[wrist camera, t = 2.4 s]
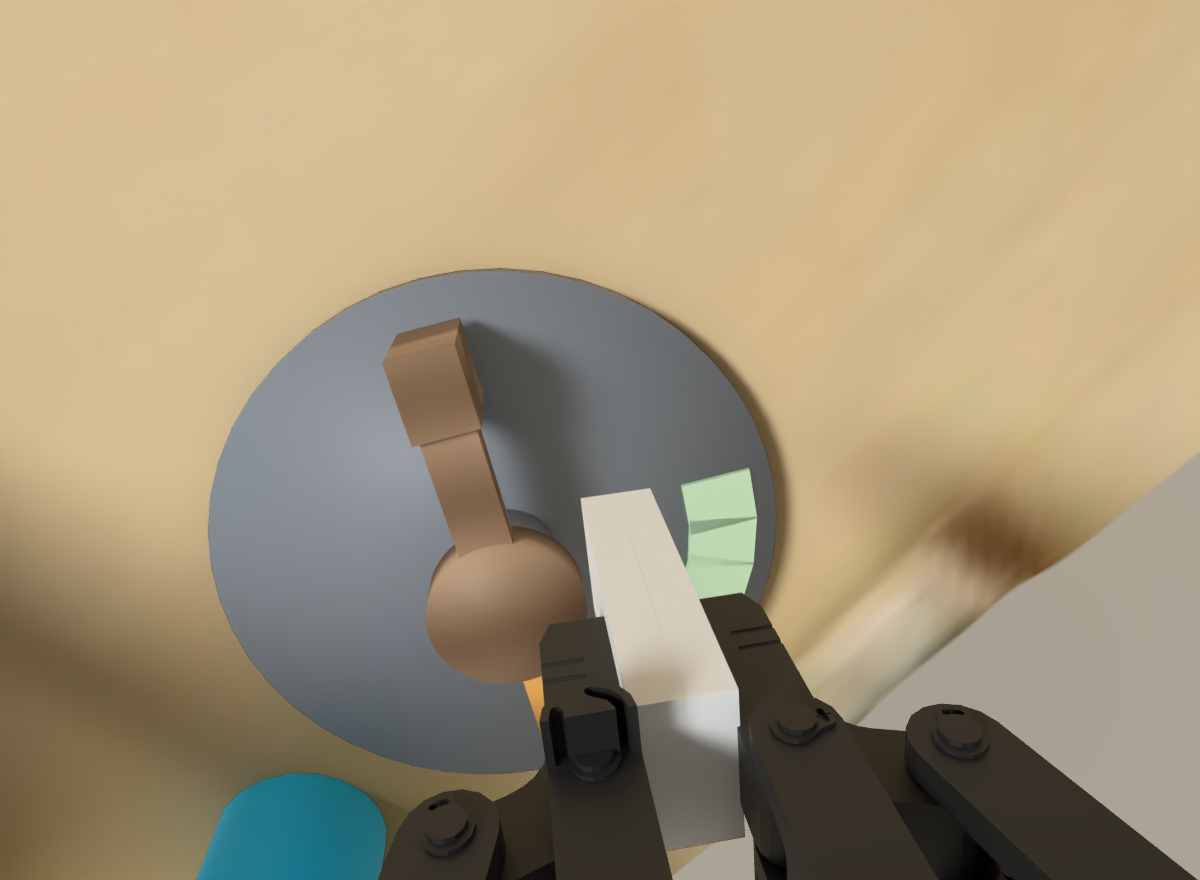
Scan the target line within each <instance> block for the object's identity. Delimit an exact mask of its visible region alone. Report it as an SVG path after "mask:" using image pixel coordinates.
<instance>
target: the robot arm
mask: <svg viewBox="0 0 1200 880" xmlns="http://www.w3.org/2000/svg"><path fill="white" fill-rule="evenodd" d="M581 506H582V514H583V522H584V530H585V538H586V547H587V555H588V563H589V571H590V579H591V587H592V596H593V604H594V610H595V615H596V617H595V618H589V619H582V620H576V621H570V622H563V623H557V624H551V625H549V626H548V628H547V630H546V632H545V634H544V636H543V638H542V640H541V642H540V644H539V647H540V659H541V671H542V682H543V695H544V707H543V708H542V711H541V716H540V721H539V723H540V729H541V735H542V742H543V748H544V754H545V761H544V763H543V766H542V767H541V769H540V770H539V772H538V773H537V774H536V776H535V777H534V778H533V779H532V780H530V781H529V782H528V783H527V784H526V785H525V786H523V787H522V788H520V789H518V790H516V791H515V792H513V793H511V794H509V795H507V796H505V797H503V798H501V799H498V800H496V801H494V802H492V801H491V800H489V799H488V798H487V797H485V796H484V795H482V794H481V793H479V792H473V791H468V790H463V789H462V790H455V791H448V792H443V793H440V794H438V795H436V796H434V797H431V798H429V799H427V800H425V801H423V802H422V803H421V804H420V805H419V806H417V807H416V808H415V809H414V810H413V811H411V812H410V813H409V814H408V816H407V817H406V819H405V820H404V822H403V824H402V825H401V827H400V828H399V830H398V832H397V834H396V837H395V839H394V842H393V844H392V846H391V849H390V851H389V854H388V856H387V858H386V861H385V863H384V866H383V868H382V870H381V873H380V875H379V878H378V880H673V879H672V875H671V871H670V867H669V863H668V858H667V854H666V851H671V850H677V849H682V848H688V847H693V846H699V845H704V844H710V843H715V842H720V841H726V840H731V839H737V838H742V837H745V829H744V814H745V817H746V820H747V822H748V825H749V828H750V831H751V833H752V836H753V841H754V866H755V880H1197V879H1196V878H1194V877H1193V876H1192V875H1191V874H1189V873H1188V872H1187V871H1186V870H1184V869H1183V868H1182V867H1181V866H1179V865H1178V864H1177V863H1176V862H1174V861H1173V860H1171V858H1169V857H1168V856H1167V855H1165V854H1164V853H1163V852H1162V851H1160V850H1159V849H1158V848H1157V847H1155V846H1154V845H1153V844H1151V843H1150V842H1149V841H1148V840H1146V839H1145V838H1144V837H1143V836H1141V835H1140V834H1139V833H1138V832H1136V831H1135V830H1134V829H1133V828H1131V827H1130V826H1129V825H1127V824H1126V823H1125V822H1124V821H1122V820H1121V819H1120V818H1119V817H1117V816H1116V815H1115V814H1114V813H1112V812H1111V811H1110V810H1109V809H1107V808H1106V807H1105V806H1104V805H1102V804H1101V803H1100V802H1098V801H1097V800H1096V799H1094V798H1093V797H1092V796H1091V795H1090V794H1088V793H1087V792H1086V791H1085V790H1083V789H1082V788H1081V787H1079V786H1078V785H1077V784H1076V783H1074V782H1073V781H1072V780H1070V779H1069V778H1068V777H1067V776H1066V775H1064V774H1063V773H1062V772H1061V771H1059V770H1058V769H1057V768H1055V767H1054V766H1053V765H1052V764H1050V763H1049V762H1048V761H1047V760H1045V759H1044V758H1043V757H1041V756H1040V755H1039V754H1038V753H1036V752H1035V751H1034V750H1033V749H1031V748H1030V747H1029V746H1028V745H1026V744H1025V743H1024V742H1023V741H1021V740H1020V739H1019V738H1018V737H1016V736H1015V735H1014V734H1012V733H1011V732H1010V731H1009V730H1007V729H1006V728H1005V727H1003V726H1002V725H1001V724H1000V723H999V722H997V721H995V720H994V719H992V718H990V717H989V716H987V715H985V714H984V713H982V712H980V711H977V710H974V709H971V708H968V707H964V706H961V705H951V704H937V705H932V706H927V707H923V708H922V709H920V710H919V711H917V712H916V713H914V714H913V715H911V717H910V719H909V722H908V724H907V726H906V731H898V730H885V729H872V728H866V727H860V726H856V725H853V724H850V723H847V722H844V720H843V719H842V717H841V716H840V715H839V714H838V713H837V712H836V711H835V710H834V709H833V707H831V706H830V705H828V704H826V703H824V702H822V701H820V700H819V699H817V698H813V696H812V694H811V693H810V691H809V689H808V687H807V686H806V684H805V682H804V680H803V679H802V677H801V675H800V673H799V672H798V670H797V668H796V666H795V665H794V663H793V661H792V659H791V657H790V656H789V654H788V652H787V650H786V649H785V647H784V645H783V643H781V641H780V638H779V636H778V635H777V633H776V631H775V629H774V628H772V624H771V622H770V621H769V619H768V617H767V615H766V613H765V612H764V610H763V608H762V606H760V605H759V604H757V603H756V602H754V601H753V600H752V599H750V598H749V597H747V596H746V595H744V594H743V593H742V592H741V593H735V594H728V595H722V596H716V597H709V598H703V599H699V598H698V596H697V594H696V591H695V589H694V587H693V585H692V582H691V580H690V578H689V575H688V573H687V571H686V569H685V566H684V564H683V562H682V560H681V557H680V555H679V553H678V550H677V548H676V546H675V544H674V541H673V539H672V537H671V535H670V532H669V530H668V528H667V525H666V523H665V521H664V519H663V516H662V514H661V512H660V510H659V507H658V505H657V503H656V500H655V498H654V496H653V494H652V491H651V489H650V488H648V489H641V490H634V491H627V492H621V493H614V494H607V495H600V496H593V497H586V498H581Z"/></svg>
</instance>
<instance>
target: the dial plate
mask: <svg viewBox="0 0 1200 880" xmlns="http://www.w3.org/2000/svg"><path fill="white" fill-rule="evenodd" d="M459 317H460V319H461V322H462V325H463V328H464V332H465V335H466V338H467V341H468V344H469V348H470V351H471V354H472V357H473V361H474V364H475V367H476V370H477V374H478V377H479V380H480V383H481V386H482V390H483V404H482V426H481V431H482V434H483V438H484V441H485V444H486V447H487V450H488V453H489V457H490V460H491V463H492V466H493V469H494V472H495V475H496V479H497V482H498V485H499V488H500V491H501V494H502V498H503V501H504V504H505V507H506V510H507V513H508V516H509V520H510V523H511V526H518V527H525V528H529V529H533V530H537V531H539V532H541V533H544V534H546V535H548V536H550V537H551V538H553V539H555V540H556V541H557V542H559V543H560V544H561V545H562V546H563V547H565V548H566V549H567V550H568V552H569V553H570V554H571V556H572V557H573V558H574V560H575V562H576V564H577V565H578V568H579V570H580V573H581V577H582V582H583V587H584V592H585V597H586V602H587V613H588V614H587V619H589V618H595V617H596V615H595V610H594V604H593V596H592V587H591V579H590V571H589V563H588V555H587V547H586V538H585V530H584V522H583V514H582V506H581V498H586V497H593V496H600V495H607V494H614V493H621V492H627V491H634V490H641V489H648V488H650V489H651V491H652V494H653V496H654V498H655V500H656V503H657V505H658V507H659V510H660V512H661V514H662V516H663V519H664V521H665V523H666V525H667V528H668V530H669V532H670V535H671V537H672V539H673V541H674V544H675V546H676V548H677V550H678V553H679V555H680V557H681V560H682V562H683V564H684V566H685V569H686V571H687V573H688V575H689V578H690V580H691V582H692V585H693V587H694V589H695V591H696V594H697V596H698V598H699V599H703V598H709V597H716V596H722V595H728V594H735V593H741V592H742V593H743V594H744V595H746V596H747V597H749V598H750V599H752V600H753V601H754V602H756V603H757V604H759V603H760V600H761V597H762V594H763V591H764V589H765V586H766V583H767V580H768V577H769V572H770V567H771V562H772V557H773V552H774V547H775V531H776V505H775V493H774V482H773V478H772V474H771V470H770V466H769V462H768V457H767V453H766V450H765V447H764V445H763V442H762V440H761V437H760V435H759V432H758V430H757V428H756V425H755V423H754V420H753V418H752V417H751V415H750V413H749V412H748V410H747V408H746V406H745V405H744V403H743V401H742V400H741V398H740V396H739V394H738V393H737V391H736V390H735V388H734V387H733V386H732V385H731V383H730V382H729V381H728V380H727V378H726V377H725V376H724V375H723V373H722V372H721V371H720V370H719V368H718V367H717V366H716V365H715V363H714V362H713V361H712V360H711V359H710V358H709V357H708V356H707V355H706V354H705V353H704V352H703V351H701V350H700V349H699V348H698V347H697V346H696V345H695V344H694V343H693V342H692V341H691V340H690V339H689V338H688V337H687V336H685V335H684V334H683V333H682V332H681V331H680V330H679V329H677V328H676V327H674V326H673V325H671V324H670V323H669V322H667V321H666V320H664V319H663V318H662V317H660V316H659V315H657V314H656V313H654V312H653V311H652V310H650V309H648V308H646V307H644V306H642V305H640V304H638V303H636V302H634V301H633V300H631V299H629V298H627V297H625V296H623V295H621V294H619V293H617V292H614V291H611V290H609V289H606V288H603V287H600V286H597V285H594V284H592V283H589V282H586V281H583V280H580V279H576V278H571V277H566V276H561V275H557V274H552V273H547V272H543V271H531V270H518V269H505V268H496V269H478V270H460V271H455V272H450V273H444V274H439V275H434V276H429V277H423V278H419V279H416V280H413V281H410V282H407V283H404V284H401V285H398V286H395V287H392V288H389V289H386V290H383V291H380V292H378V293H376V294H374V295H372V296H370V297H368V298H366V299H364V300H362V301H360V302H358V303H356V304H354V305H352V306H350V307H348V308H346V309H344V310H343V311H341V312H340V313H338V314H337V315H335V316H334V317H332V318H331V319H329V320H328V321H326V322H325V323H324V324H322V325H321V326H319V327H318V328H316V329H315V330H313V331H312V332H311V333H310V334H309V335H308V336H306V337H305V338H304V339H303V340H302V341H301V342H300V343H299V344H298V345H297V346H295V347H294V348H293V349H292V350H291V351H290V352H289V353H288V354H287V355H286V356H284V357H283V358H282V359H281V360H280V361H279V362H278V364H277V365H276V366H275V367H274V368H273V369H272V371H271V372H270V373H269V374H268V375H267V377H266V378H265V379H264V380H263V382H262V383H261V384H260V385H259V386H258V388H257V389H256V390H255V391H254V392H253V394H252V395H251V396H250V398H249V400H248V402H247V403H246V405H245V407H244V408H243V410H242V412H241V413H240V415H239V417H238V418H237V420H236V422H235V423H234V425H233V427H232V429H231V431H230V434H229V436H228V439H227V441H226V444H225V446H224V449H223V451H222V454H221V456H220V459H219V461H218V465H217V469H216V474H215V478H214V483H213V487H212V491H211V496H210V508H209V523H208V538H209V549H210V560H211V568H212V572H213V576H214V580H215V584H216V588H217V592H218V596H219V600H220V602H221V604H222V607H223V609H224V611H225V614H226V616H227V619H228V621H229V623H230V626H231V628H232V630H233V632H234V634H235V635H236V637H237V639H238V640H239V642H240V644H241V645H242V647H243V649H244V650H245V652H246V654H247V655H248V657H249V659H250V660H251V661H252V662H253V664H254V665H255V666H256V667H257V669H258V670H259V671H260V672H261V674H262V675H263V676H264V677H265V679H266V680H267V681H268V682H269V683H270V685H271V686H272V687H274V688H275V689H276V690H277V691H278V692H279V693H280V694H281V695H282V696H283V697H284V698H285V699H286V700H287V701H288V702H289V703H290V704H291V705H292V706H293V707H295V708H296V709H297V710H299V711H300V712H301V713H303V714H304V715H306V716H307V717H308V718H310V719H311V720H312V721H314V722H315V723H316V724H318V725H319V726H320V727H322V728H324V729H326V730H327V731H329V732H331V733H333V734H335V735H336V736H338V737H340V738H342V739H343V740H345V741H347V742H349V743H351V744H353V745H355V746H358V747H360V748H363V749H365V750H367V751H370V752H372V753H374V754H377V755H379V756H382V757H385V758H389V759H392V760H395V761H399V762H402V763H405V764H409V765H412V766H418V767H423V768H428V769H434V770H439V771H445V772H458V773H470V774H500V773H516V772H524V771H532V770H540V769H541V767H542V766H543V763H544V761H545V754H544V748H543V742H542V735H541V733H540V730H539V727H538V724H537V721H536V718H535V715H534V712H533V709H532V706H531V703H530V700H529V697H528V694H527V691H526V689H525V686H524V683H523V682H519V683H510V684H497V683H488V682H483V681H479V680H476V679H473V678H470V677H468V676H465V675H463V674H461V673H459V672H458V671H456V670H455V669H453V668H452V667H451V666H449V665H448V664H447V663H446V662H445V661H444V660H443V659H442V658H441V657H440V656H439V655H438V653H437V652H436V650H435V649H434V647H433V645H432V643H431V641H430V639H429V635H428V632H427V627H426V608H427V601H428V595H429V588H430V582H431V578H432V575H433V572H434V570H435V568H436V566H437V564H438V563H439V561H440V560H441V558H442V557H443V556H444V554H445V553H446V552H447V551H448V550H449V549H450V548H451V547H453V546H454V545H455V544H454V542H453V539H452V536H451V533H450V530H449V527H448V525H447V522H446V519H445V516H444V513H443V510H442V508H441V505H440V502H439V499H438V496H437V493H436V491H435V488H434V485H433V482H432V479H431V476H430V474H429V471H428V468H427V465H426V462H425V460H424V457H423V454H422V451H421V448H420V445H419V446H415V447H412V446H411V443H410V441H409V438H408V435H407V432H406V429H405V427H404V424H403V421H402V418H401V416H400V413H399V410H398V407H397V404H396V402H395V399H394V396H393V393H392V390H391V388H390V385H389V382H388V379H387V376H386V374H385V371H384V368H383V365H382V363H383V361H384V359H385V357H386V355H387V353H388V351H389V349H390V347H391V345H392V343H393V341H394V339H395V337H396V335H397V334H398V333H402V332H405V331H409V330H413V329H417V328H421V327H425V326H428V325H432V324H436V323H440V322H444V321H448V320H451V319H455V318H459Z"/></svg>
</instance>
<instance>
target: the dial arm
mask: <svg viewBox="0 0 1200 880" xmlns="http://www.w3.org/2000/svg"><path fill="white" fill-rule="evenodd" d="M382 365H383V368H384V371H385V374H386V376H387V379H388V382H389V385H390V388H391V390H392V393H393V396H394V399H395V402H396V404H397V407H398V410H399V413H400V416H401V418H402V421H403V424H404V427H405V429H406V432H407V435H408V438H409V441H410V443H411V446H412V447H415V446H419V445H420V448H421V451H422V454H423V457H424V460H425V462H426V465H427V468H428V471H429V474H430V476H431V479H432V482H433V485H434V488H435V491H436V493H437V496H438V499H439V502H440V505H441V508H442V510H443V513H444V516H445V519H446V522H447V525H448V527H449V530H450V533H451V536H452V539H453V542H454V544H455V545H454V546H453V547H451V548H450V549H449V550H448V551H447V552H446V553H445V554H444V556H443V557H442V558H441V560H440V561H439V563H438V564H437V566H436V568H435V570H434V572H433V575H432V578H431V582H430V588H429V595H428V601H427V608H426V627H427V632H428V635H429V639H430V641H431V643H432V645H433V647H434V649H435V650H436V652H437V653H438V655H439V656H440V657H441V658H442V659H443V660H444V661H445V662H446V663H447V664H448V665H449V666H451V667H452V668H453V669H455V670H456V671H458V672H459V673H461V674H463V675H465V676H468V677H470V678H473V679H476V680H479V681H483V682H488V683H497V684H510V683H519V682H523V683H524V686H525V689H526V691H527V694H528V697H529V700H530V703H531V706H532V709H533V712H534V715H535V718H536V721H537V724H538V727H539V730H540V733H541V729H540V723H539V721H540V716H541V711H542V708H543V707H544V695H543V682H542V671H541V659H540V647H539V644H540V642H541V640H542V638H543V636H544V634H545V632H546V630H547V628H548V626H549V625H551V624H557V623H563V622H570V621H576V620H582V619H587V614H588V613H587V602H586V597H585V592H584V587H583V582H582V577H581V573H580V570H579V568H578V565H577V564H576V562H575V560H574V558H573V557H572V556H571V554H570V553H569V552H568V550H567V549H566V548H565V547H563V546H562V545H561V544H560V543H559V542H557V541H556V540H555V539H553V538H551V537H550V536H548V535H546V534H544V533H541V532H539V531H537V530H533V529H529V528H525V527H518V526H511V523H510V520H509V516H508V513H507V510H506V507H505V504H504V501H503V498H502V494H501V491H500V488H499V485H498V482H497V479H496V475H495V472H494V469H493V466H492V463H491V460H490V457H489V453H488V450H487V447H486V444H485V441H484V438H483V434H482V431H481V426H482V404H483V390H482V386H481V383H480V380H479V377H478V374H477V370H476V367H475V364H474V361H473V357H472V354H471V351H470V348H469V344H468V341H467V338H466V335H465V332H464V328H463V325H462V322H461V319H460V317H459V318H455V319H451V320H448V321H444V322H440V323H436V324H432V325H428V326H425V327H421V328H417V329H413V330H409V331H405V332H402V333H398V334H397V335H396V337H395V339H394V341H393V343H392V345H391V347H390V349H389V351H388V353H387V355H386V357H385V359H384V361H383V363H382Z"/></svg>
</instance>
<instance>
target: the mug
mask: <svg viewBox="0 0 1200 880" xmlns="http://www.w3.org/2000/svg"><path fill="white" fill-rule="evenodd" d="M385 839H386V825H385V823H384V820H383V817H382V815H381V812H380V810H379V808H378V807H377V806H376V805H375V804H374V803H373V801H372V800H371V799H370V798H369V797H368V796H367V795H366V794H365V793H364V792H362V791H361V790H359V789H357V788H355V787H354V786H352V785H350V784H348V783H347V782H345V781H343V780H339V779H335V778H331V777H327V776H323V775H320V774H286V775H282V776H278V777H273V778H269V779H265V780H262V781H260V782H258V783H256V784H255V785H253V786H251V787H249V788H247V789H245V790H243V791H241V792H240V793H239V794H238V795H237V796H236V797H235V798H234V799H233V800H232V802H231V803H230V804H229V805H228V806H227V807H226V808H225V810H224V812H223V814H222V817H221V819H220V822H219V824H218V827H217V829H216V831H215V834H214V836H213V839H212V841H211V844H210V846H209V849H208V851H207V854H206V856H205V859H204V861H203V864H202V866H201V869H200V871H199V873H198V876H197V878H196V880H378V878H379V875H380V873H381V869H382V863H383V856H384V850H385Z"/></svg>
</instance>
